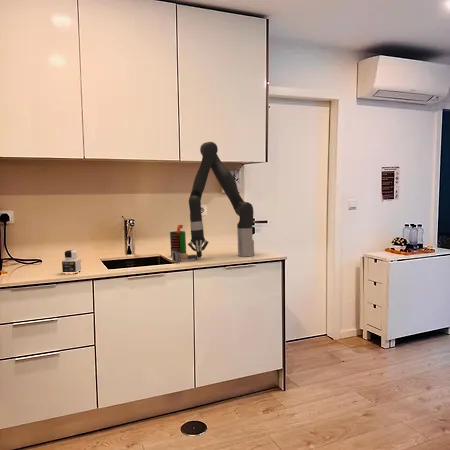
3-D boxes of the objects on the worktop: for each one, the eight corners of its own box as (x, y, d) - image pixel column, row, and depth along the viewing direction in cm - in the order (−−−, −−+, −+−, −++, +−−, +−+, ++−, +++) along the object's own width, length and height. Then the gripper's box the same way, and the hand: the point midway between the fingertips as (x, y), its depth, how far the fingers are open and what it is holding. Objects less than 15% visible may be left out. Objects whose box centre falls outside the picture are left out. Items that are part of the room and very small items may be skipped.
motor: (168, 257, 261) (166, 225, 259) (176, 255, 269) (175, 224, 267) (181, 258, 256) (180, 225, 254) (189, 255, 264) (188, 224, 262)
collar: (191, 258, 254) (190, 248, 253) (196, 261, 242) (195, 251, 242) (172, 260, 250) (172, 250, 249) (176, 263, 239) (176, 252, 238)
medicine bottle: (62, 274, 215) (61, 251, 214) (68, 271, 222) (66, 249, 221) (76, 274, 215) (74, 251, 214) (81, 271, 222) (80, 249, 221)
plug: (195, 259, 250) (195, 252, 250) (197, 260, 247) (197, 253, 246) (177, 260, 247) (177, 254, 246) (179, 261, 243) (179, 255, 243)
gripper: (205, 227, 253) (208, 255, 255) (184, 229, 249) (187, 258, 250) (209, 228, 246) (211, 257, 248) (187, 230, 242) (190, 260, 243)
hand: (199, 257), depth 249 cm, fingers closed
